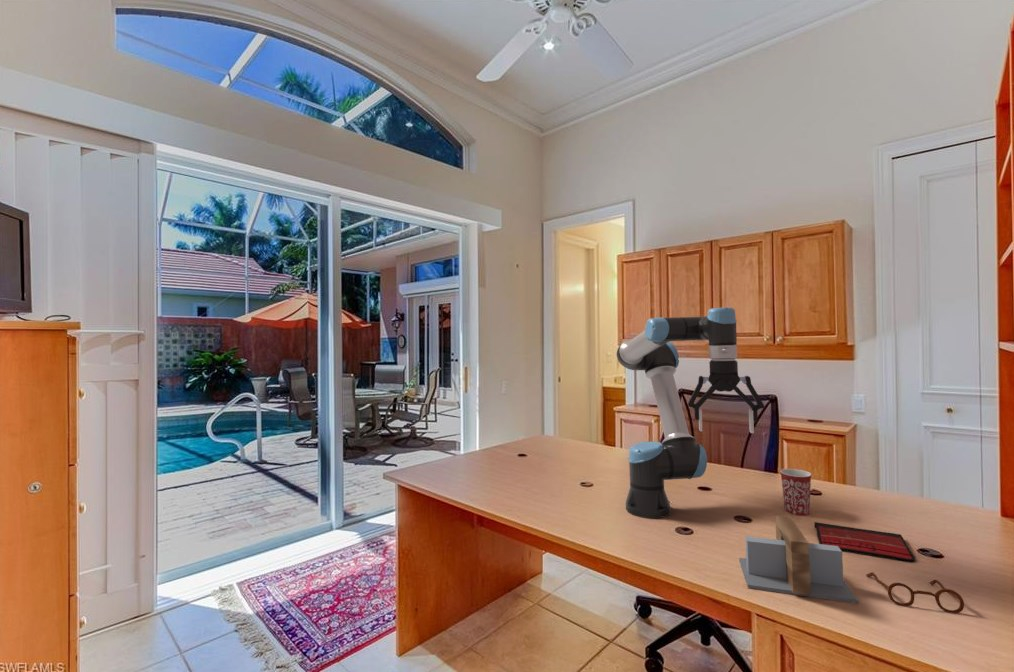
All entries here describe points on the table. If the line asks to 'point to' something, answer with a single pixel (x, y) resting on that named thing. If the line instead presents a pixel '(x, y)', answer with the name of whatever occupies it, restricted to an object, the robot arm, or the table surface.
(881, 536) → the black and red tablet
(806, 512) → the mug
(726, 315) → the robot arm
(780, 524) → the brown rectangular block
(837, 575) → the stand board
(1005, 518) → the table surface
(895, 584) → the glasses
